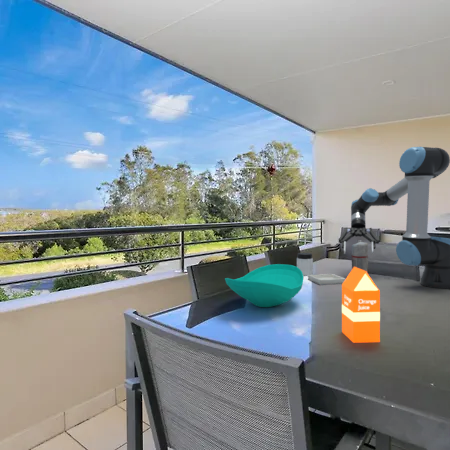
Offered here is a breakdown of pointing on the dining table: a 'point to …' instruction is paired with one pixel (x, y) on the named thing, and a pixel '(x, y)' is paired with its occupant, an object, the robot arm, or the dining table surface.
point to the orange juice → (360, 307)
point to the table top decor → (268, 284)
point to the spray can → (360, 256)
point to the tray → (326, 279)
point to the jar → (305, 263)
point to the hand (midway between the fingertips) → (358, 252)
